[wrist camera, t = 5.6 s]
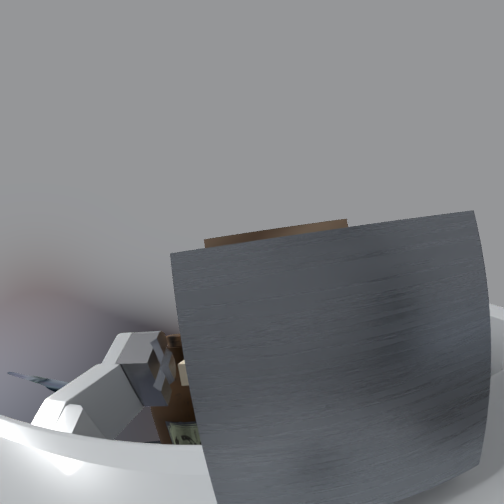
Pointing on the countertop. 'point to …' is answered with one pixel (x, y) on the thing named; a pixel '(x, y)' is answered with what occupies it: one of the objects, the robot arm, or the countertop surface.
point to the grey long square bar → (338, 360)
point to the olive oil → (177, 407)
